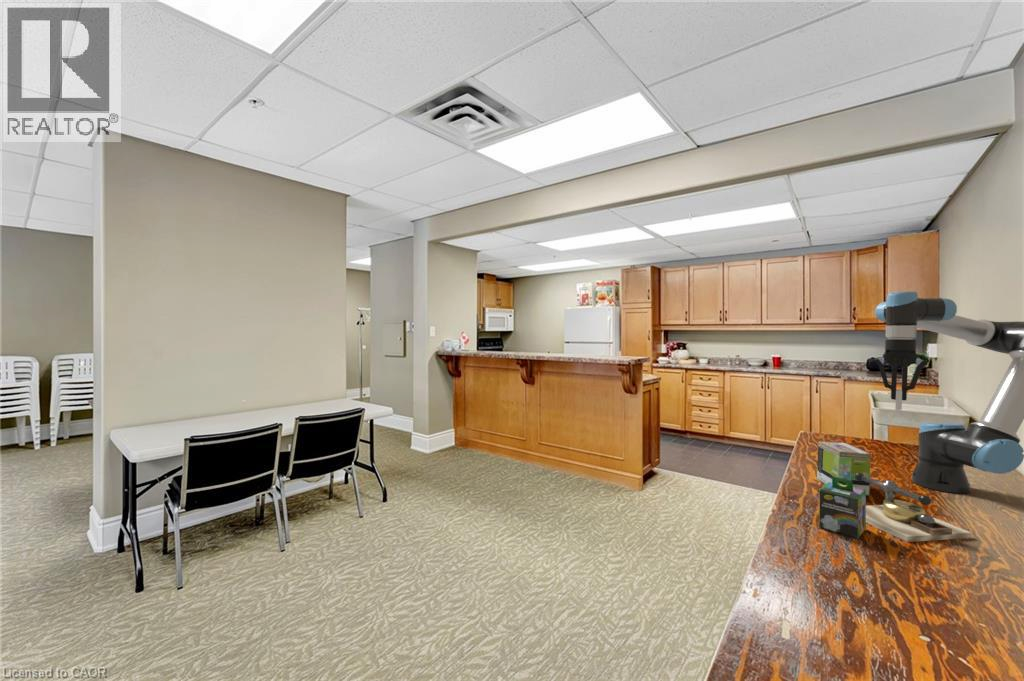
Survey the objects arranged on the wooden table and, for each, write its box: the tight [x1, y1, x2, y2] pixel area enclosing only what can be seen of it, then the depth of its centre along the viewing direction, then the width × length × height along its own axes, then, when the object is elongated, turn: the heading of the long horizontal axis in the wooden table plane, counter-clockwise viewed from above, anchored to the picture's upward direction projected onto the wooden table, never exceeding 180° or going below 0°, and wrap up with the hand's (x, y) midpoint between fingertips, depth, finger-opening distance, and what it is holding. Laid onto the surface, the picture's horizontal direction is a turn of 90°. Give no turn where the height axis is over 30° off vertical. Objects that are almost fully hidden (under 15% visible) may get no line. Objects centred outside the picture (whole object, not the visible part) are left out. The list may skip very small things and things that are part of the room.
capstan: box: [854, 473, 933, 523], centre depth 129 cm, size 22×9×9 cm, turn 9°
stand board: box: [866, 504, 972, 543], centre depth 124 cm, size 20×19×3 cm
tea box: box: [816, 441, 872, 496], centre depth 154 cm, size 15×10×15 cm, turn 168°
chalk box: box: [818, 477, 867, 540], centre depth 121 cm, size 9×9×15 cm
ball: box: [918, 513, 935, 527], centre depth 119 cm, size 4×4×4 cm
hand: (898, 409), depth 141 cm, fingers closed
